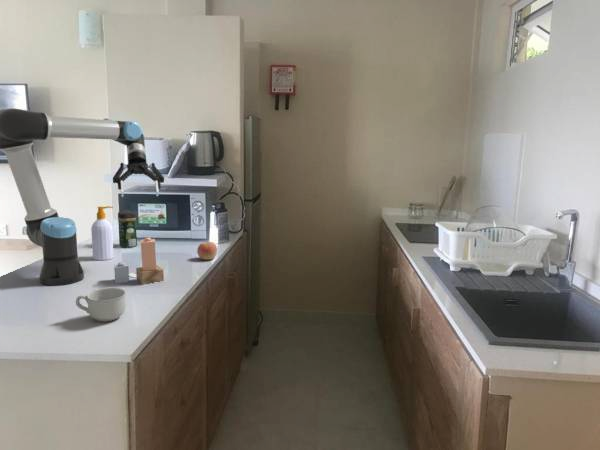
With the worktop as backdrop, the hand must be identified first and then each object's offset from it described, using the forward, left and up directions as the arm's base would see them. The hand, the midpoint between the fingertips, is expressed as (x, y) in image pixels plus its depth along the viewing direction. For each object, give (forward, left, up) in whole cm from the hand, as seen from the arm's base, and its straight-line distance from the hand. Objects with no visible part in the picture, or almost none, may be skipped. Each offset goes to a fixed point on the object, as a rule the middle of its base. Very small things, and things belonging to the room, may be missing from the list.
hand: (140, 194), depth 186 cm
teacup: (-40, -38, -32) cm, 63 cm away
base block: (-8, -16, -32) cm, 36 cm away
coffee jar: (+20, +43, -32) cm, 57 cm away
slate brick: (-15, -8, -32) cm, 36 cm away
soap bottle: (-1, +29, -32) cm, 43 cm away
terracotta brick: (-8, -16, -27) cm, 32 cm away
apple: (+29, -7, -32) cm, 43 cm away
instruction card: (-6, -5, -31) cm, 32 cm away
